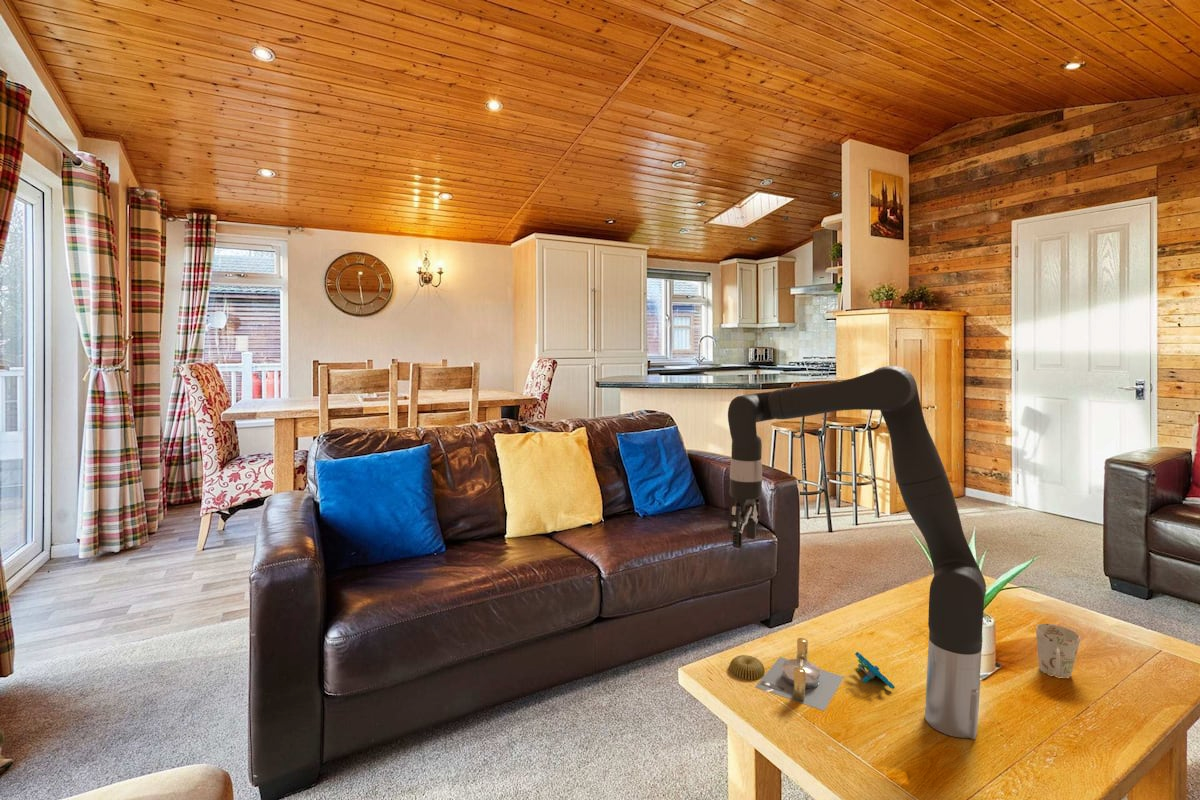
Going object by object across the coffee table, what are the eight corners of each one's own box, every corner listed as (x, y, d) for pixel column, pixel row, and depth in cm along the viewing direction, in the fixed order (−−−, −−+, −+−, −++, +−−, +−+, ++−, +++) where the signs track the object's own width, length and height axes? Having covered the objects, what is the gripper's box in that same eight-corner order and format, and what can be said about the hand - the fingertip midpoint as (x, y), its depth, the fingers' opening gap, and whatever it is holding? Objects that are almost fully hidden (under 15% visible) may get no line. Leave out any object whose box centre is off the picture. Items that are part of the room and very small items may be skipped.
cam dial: (818, 703, 127) (819, 676, 126) (779, 696, 130) (779, 669, 129) (819, 665, 142) (820, 641, 142) (784, 659, 145) (785, 635, 144)
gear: (905, 692, 132) (872, 659, 132) (886, 712, 131) (853, 679, 131) (880, 672, 143) (850, 642, 143) (863, 690, 142) (833, 660, 143)
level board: (845, 680, 139) (845, 673, 139) (823, 718, 125) (823, 711, 125) (781, 660, 148) (781, 654, 148) (754, 694, 134) (754, 687, 134)
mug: (1074, 669, 144) (1077, 629, 143) (1082, 695, 134) (1085, 651, 133) (1032, 659, 149) (1034, 620, 148) (1036, 683, 138) (1039, 641, 137)
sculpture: (771, 661, 140) (752, 673, 135) (771, 677, 141) (751, 690, 135) (742, 648, 146) (722, 659, 141) (742, 664, 147) (722, 676, 141)
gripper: (749, 484, 137) (747, 554, 139) (771, 474, 149) (769, 537, 150) (718, 480, 142) (717, 547, 143) (742, 470, 153) (741, 532, 155)
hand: (744, 542), depth 147 cm, fingers open, 8 cm apart
